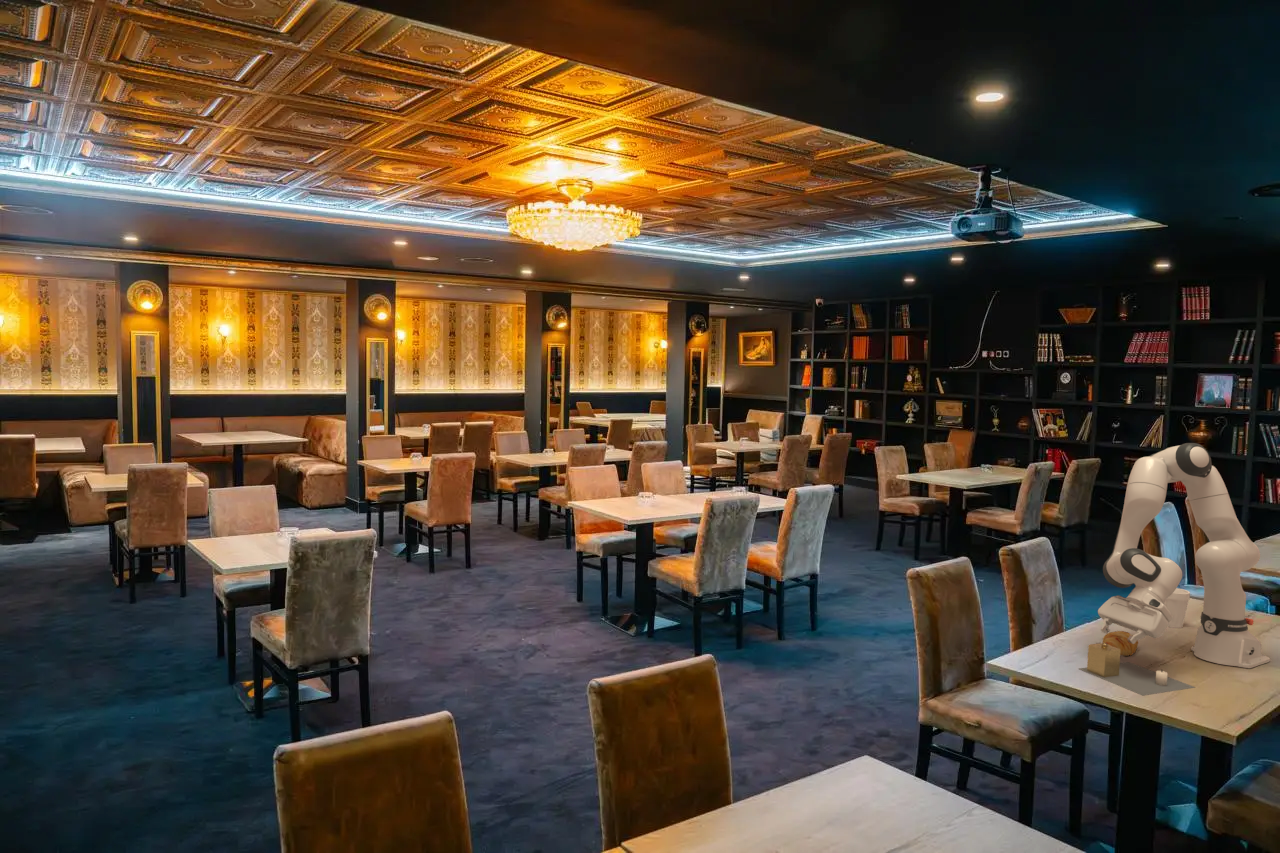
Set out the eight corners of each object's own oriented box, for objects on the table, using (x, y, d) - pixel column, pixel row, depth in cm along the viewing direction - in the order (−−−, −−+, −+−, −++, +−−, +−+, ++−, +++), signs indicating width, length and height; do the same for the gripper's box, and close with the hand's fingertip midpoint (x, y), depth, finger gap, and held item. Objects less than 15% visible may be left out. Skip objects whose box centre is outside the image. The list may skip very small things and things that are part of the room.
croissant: (1112, 670, 269) (1125, 652, 266) (1084, 648, 276) (1097, 630, 272) (1141, 656, 282) (1154, 639, 278) (1114, 635, 288) (1127, 618, 285)
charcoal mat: (1128, 664, 265) (1128, 661, 265) (1195, 690, 244) (1195, 687, 244) (1077, 671, 257) (1077, 668, 257) (1142, 698, 237) (1142, 695, 237)
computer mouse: (1160, 681, 248) (1161, 667, 248) (1168, 685, 245) (1170, 670, 245) (1153, 682, 247) (1154, 668, 247) (1162, 686, 244) (1163, 671, 244)
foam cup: (1151, 622, 311) (1153, 587, 310) (1170, 620, 313) (1172, 586, 312) (1174, 630, 302) (1176, 594, 301) (1193, 628, 304) (1196, 593, 303)
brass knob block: (1101, 668, 258) (1103, 639, 257) (1118, 675, 252) (1120, 645, 252) (1086, 670, 256) (1088, 641, 255) (1103, 677, 250) (1105, 647, 250)
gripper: (1109, 587, 268) (1083, 619, 265) (1168, 606, 249) (1141, 641, 246) (1118, 600, 270) (1093, 632, 267) (1178, 619, 251) (1151, 654, 248)
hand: (1116, 636), depth 257 cm, fingers open, 8 cm apart
